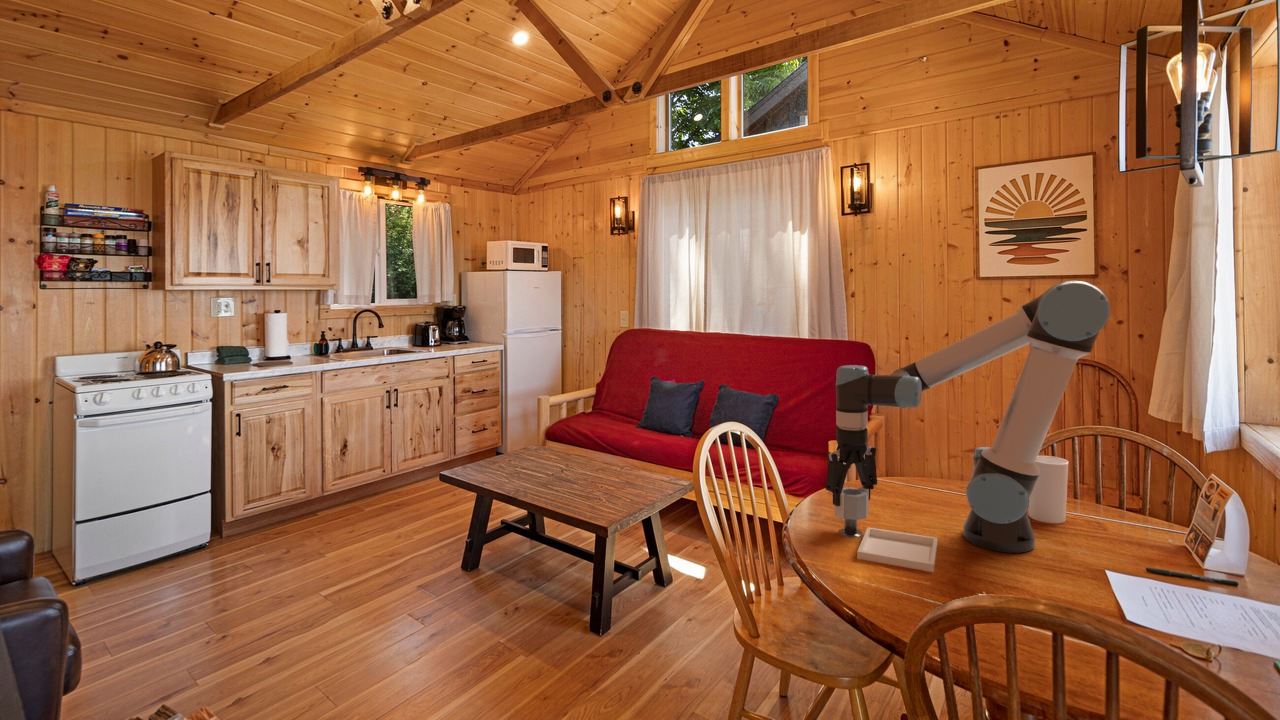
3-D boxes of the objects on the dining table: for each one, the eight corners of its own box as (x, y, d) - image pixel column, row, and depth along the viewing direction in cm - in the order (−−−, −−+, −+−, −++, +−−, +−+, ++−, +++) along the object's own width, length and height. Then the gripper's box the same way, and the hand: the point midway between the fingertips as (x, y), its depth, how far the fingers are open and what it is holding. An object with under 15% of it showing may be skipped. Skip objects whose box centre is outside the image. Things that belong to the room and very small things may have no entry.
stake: (864, 532, 157) (865, 505, 156) (860, 540, 151) (861, 513, 151) (840, 528, 160) (840, 502, 159) (836, 536, 154) (836, 510, 154)
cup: (1071, 524, 158) (1074, 464, 156) (1036, 522, 159) (1039, 463, 158) (1056, 512, 166) (1059, 456, 164) (1023, 511, 167) (1025, 455, 166)
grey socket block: (872, 516, 153) (872, 493, 152) (850, 521, 150) (850, 498, 150) (849, 506, 161) (849, 484, 160) (827, 510, 158) (827, 488, 158)
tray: (937, 546, 147) (937, 537, 147) (933, 574, 133) (933, 564, 133) (867, 535, 154) (867, 527, 154) (857, 560, 140) (857, 551, 140)
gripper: (872, 420, 159) (872, 504, 162) (809, 428, 152) (810, 516, 155) (893, 425, 152) (893, 513, 155) (829, 434, 145) (829, 526, 148)
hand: (851, 514), depth 155 cm, fingers closed on grey socket block, 7 cm apart
